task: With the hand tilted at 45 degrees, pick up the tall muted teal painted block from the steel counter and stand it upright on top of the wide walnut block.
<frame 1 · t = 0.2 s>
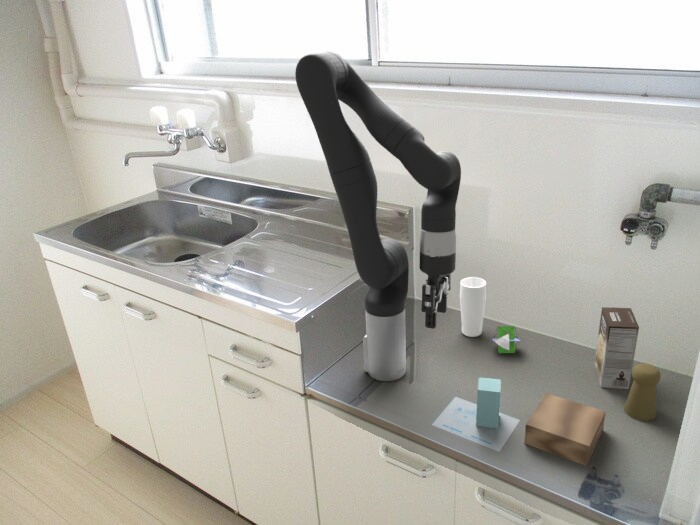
hand: (436, 319, 129), 18 cm above the counter, tool pointing down, fingers open, 8 cm apart
teal block: (487, 420, 125), on the counter
drinking glass: (471, 333, 159), on the counter
cork: (639, 412, 125), on the counter
walnut block: (563, 438, 119), on the counter
coffee box: (611, 378, 137), on the counter
geometric puzzle: (505, 351, 150), on the counter
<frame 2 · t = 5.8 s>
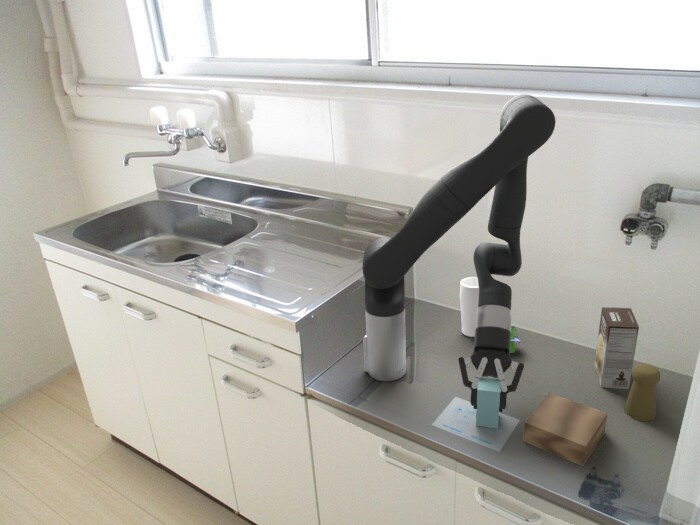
hand: (488, 409, 122), 4 cm above the counter, tool tilted 45°, fingers closed on teal block, 4 cm apart
teal block: (487, 420, 125), on the counter, touching gripper
everything else where it was.
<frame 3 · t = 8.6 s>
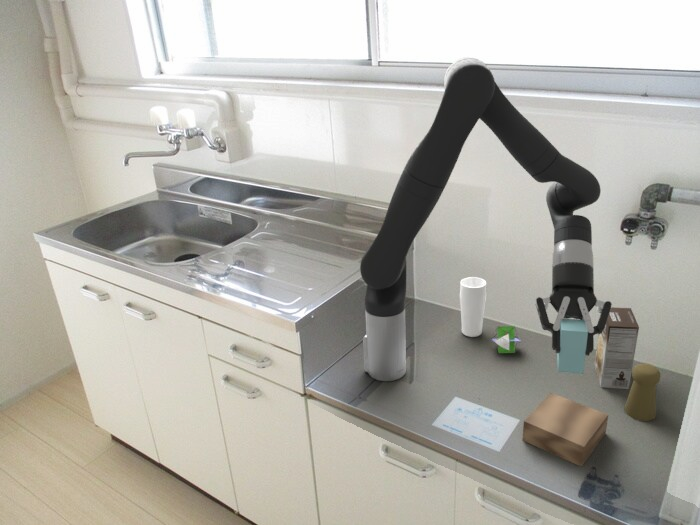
hand: (572, 353, 110), 21 cm above the counter, tool tilted 45°, fingers closed on teal block, 4 cm apart
teal block: (569, 366, 113), point 16 cm above the counter, touching gripper
everything else where it was.
when the fingers open (10 cm above the counter, at t = 11.8 s): teal block drops 1 cm, resting on walnut block.
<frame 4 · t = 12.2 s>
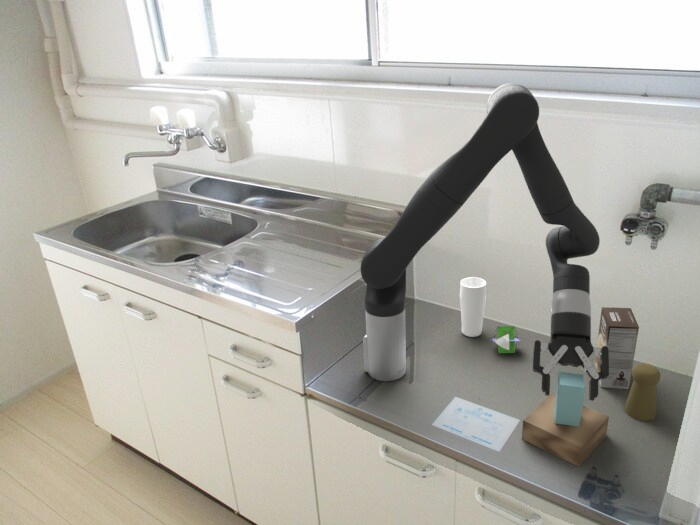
hand: (569, 397, 114), 11 cm above the counter, tool tilted 45°, fingers open, 7 cm apart
teal block: (566, 417, 117), point 5 cm above the counter, touching walnut block
walnut block: (563, 438, 119), on the counter, touching teal block
everything else where it was.
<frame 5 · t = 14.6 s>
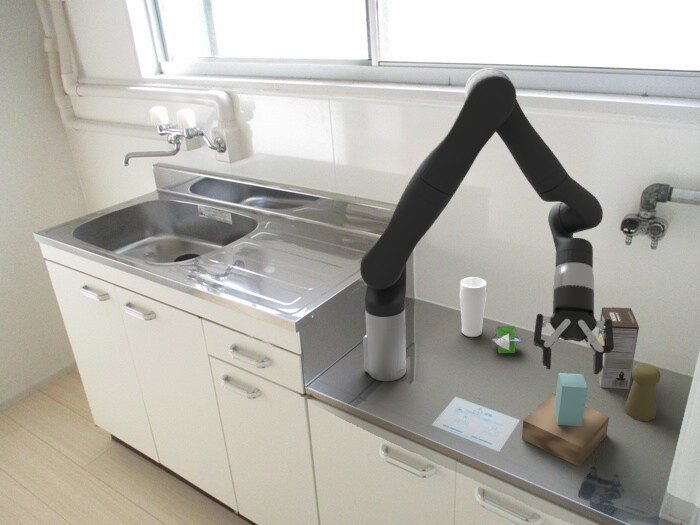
hand: (572, 371, 112), 16 cm above the counter, tool tilted 45°, fingers open, 8 cm apart
nothing on the counter moved.
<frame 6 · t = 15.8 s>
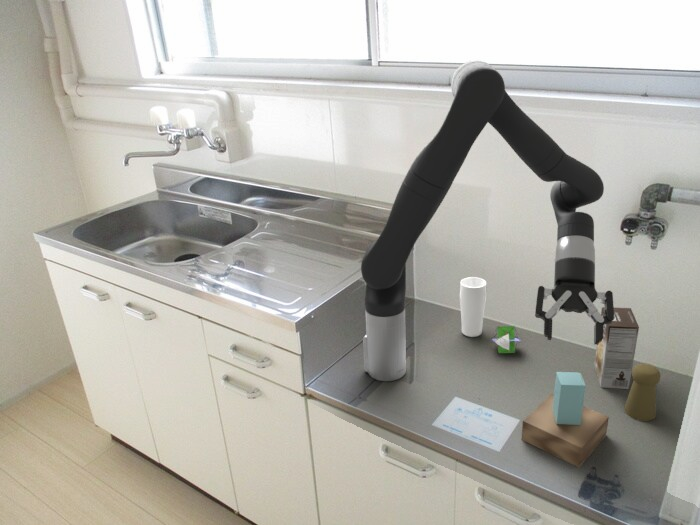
hand: (573, 341, 113), 21 cm above the counter, tool tilted 45°, fingers open, 8 cm apart
teal block: (566, 417, 117), point 5 cm above the counter
walnut block: (563, 439, 119), on the counter
everything else where it was.
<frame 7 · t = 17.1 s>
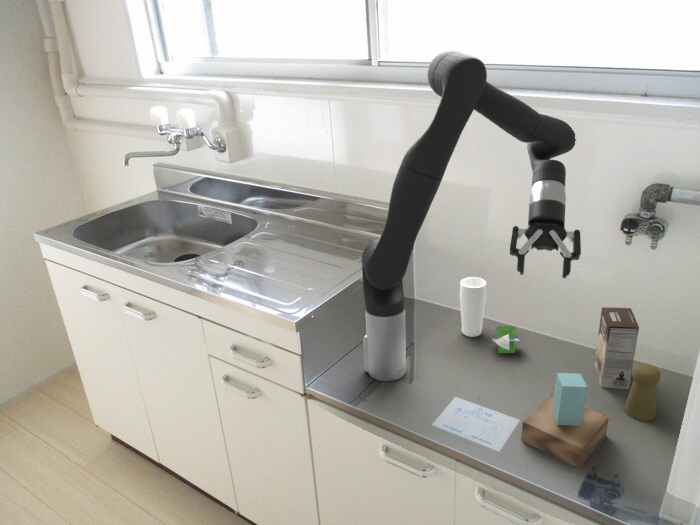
hand: (543, 275, 124), 28 cm above the counter, tool tilted 45°, fingers open, 8 cm apart
nothing on the counter moved.
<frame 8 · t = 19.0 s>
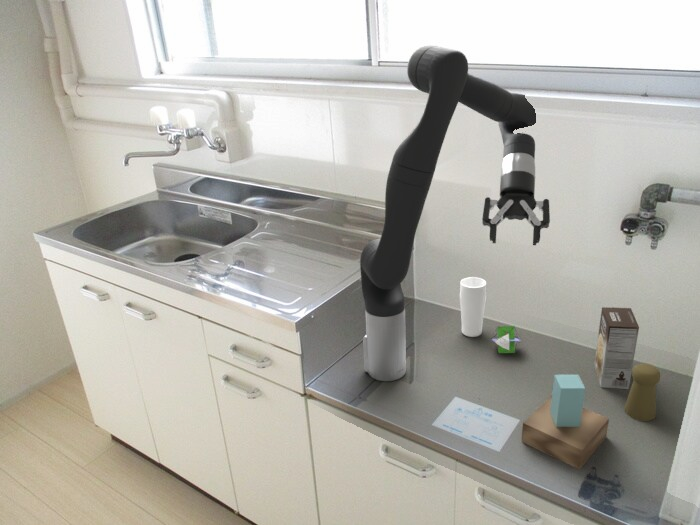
hand: (514, 243, 129), 33 cm above the counter, tool tilted 45°, fingers open, 8 cm apart
nothing on the counter moved.
at the end: teal block inside the target area on the walnut block (0.4 cm from its centre), point 5.1 cm above the walnut block's base; teal block tilted 1°; the gripper is holding nothing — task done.
